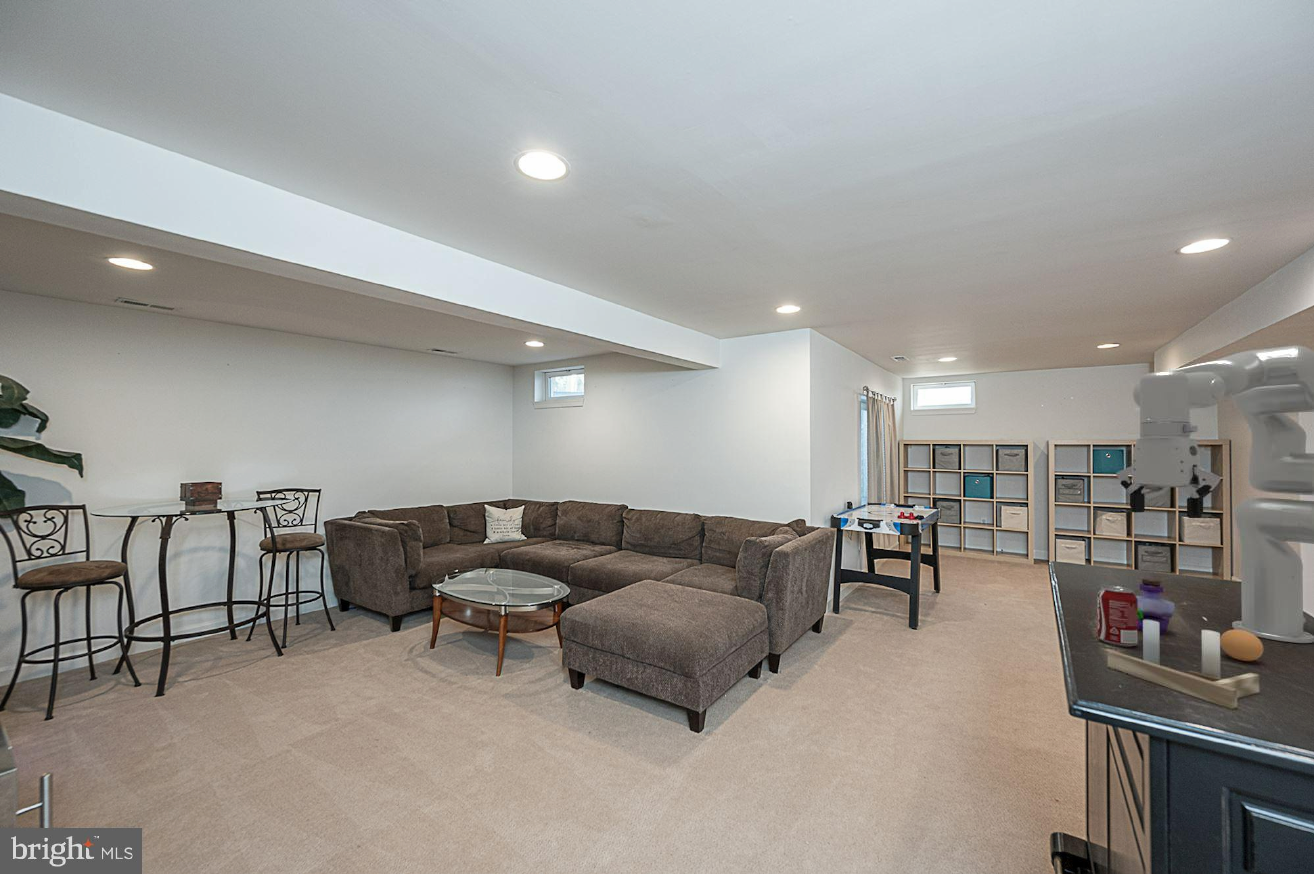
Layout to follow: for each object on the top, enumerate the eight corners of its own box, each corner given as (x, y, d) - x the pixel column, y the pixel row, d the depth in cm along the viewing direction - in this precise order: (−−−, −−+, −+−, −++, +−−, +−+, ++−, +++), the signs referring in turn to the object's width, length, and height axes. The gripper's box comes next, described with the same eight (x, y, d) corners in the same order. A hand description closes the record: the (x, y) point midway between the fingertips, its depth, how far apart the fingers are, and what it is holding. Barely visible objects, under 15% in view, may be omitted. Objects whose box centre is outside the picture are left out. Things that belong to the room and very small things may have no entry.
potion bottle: (1119, 627, 130) (1119, 576, 130) (1137, 622, 134) (1137, 573, 134) (1166, 638, 122) (1165, 585, 123) (1183, 633, 126) (1183, 581, 126)
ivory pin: (1206, 674, 103) (1206, 629, 103) (1223, 679, 100) (1222, 633, 100) (1199, 676, 102) (1198, 630, 102) (1215, 681, 99) (1215, 634, 100)
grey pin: (1147, 661, 108) (1147, 618, 109) (1162, 666, 106) (1162, 622, 106) (1140, 663, 108) (1140, 620, 108) (1155, 667, 105) (1154, 623, 105)
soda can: (1145, 649, 115) (1145, 593, 115) (1109, 647, 116) (1108, 591, 117) (1125, 639, 122) (1124, 585, 122) (1090, 636, 123) (1090, 583, 123)
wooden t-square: (1149, 658, 110) (1149, 643, 110) (1275, 696, 93) (1275, 679, 93) (1107, 666, 105) (1107, 651, 106) (1232, 708, 89) (1231, 690, 89)
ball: (1230, 652, 114) (1229, 624, 114) (1270, 663, 108) (1269, 633, 108) (1213, 656, 112) (1213, 626, 112) (1253, 667, 106) (1253, 636, 106)
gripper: (1230, 431, 105) (1231, 519, 104) (1129, 433, 121) (1129, 509, 121) (1205, 430, 103) (1206, 521, 102) (1105, 432, 119) (1106, 510, 119)
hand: (1164, 514), depth 112 cm, fingers open, 9 cm apart
